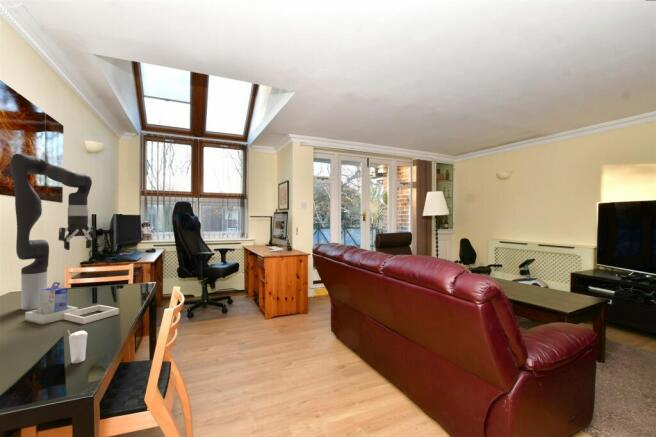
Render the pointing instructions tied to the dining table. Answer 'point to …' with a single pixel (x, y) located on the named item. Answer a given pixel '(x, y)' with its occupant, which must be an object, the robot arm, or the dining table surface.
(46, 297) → the ink cartridge box
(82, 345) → the milkshake
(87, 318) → the white square frame
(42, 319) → the tray
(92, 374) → the dining table surface
